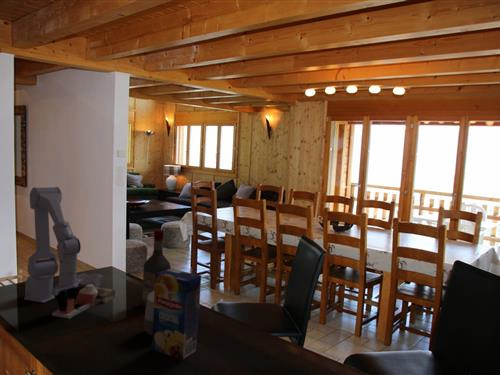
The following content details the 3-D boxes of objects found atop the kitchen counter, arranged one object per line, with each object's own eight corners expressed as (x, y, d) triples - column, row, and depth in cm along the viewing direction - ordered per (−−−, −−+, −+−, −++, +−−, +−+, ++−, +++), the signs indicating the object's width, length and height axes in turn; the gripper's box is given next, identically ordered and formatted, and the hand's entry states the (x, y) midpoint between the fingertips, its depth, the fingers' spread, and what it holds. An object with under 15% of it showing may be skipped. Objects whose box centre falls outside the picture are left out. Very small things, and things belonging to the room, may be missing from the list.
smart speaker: (138, 335, 142) (139, 294, 140) (154, 325, 150) (155, 286, 149) (162, 341, 138) (164, 299, 137) (177, 330, 147) (179, 291, 145)
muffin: (88, 305, 164) (88, 287, 163) (77, 301, 167) (77, 284, 166) (101, 300, 169) (101, 283, 169) (90, 297, 172) (90, 280, 171)
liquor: (156, 311, 162) (159, 234, 159) (138, 306, 167) (141, 230, 164) (171, 305, 170) (175, 230, 167) (154, 299, 174) (158, 227, 172)
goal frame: (77, 298, 170) (77, 291, 170) (88, 292, 177) (88, 285, 177) (105, 303, 167) (105, 295, 167) (114, 297, 174) (115, 290, 174)
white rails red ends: (51, 315, 152) (51, 300, 152) (75, 302, 166) (76, 289, 165) (70, 318, 151) (71, 304, 150) (94, 305, 164) (94, 291, 164)
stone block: (95, 293, 183) (105, 281, 193) (94, 283, 182) (104, 272, 191) (69, 291, 184) (80, 280, 194) (67, 281, 183) (79, 270, 192)
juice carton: (197, 350, 134) (201, 275, 131) (182, 360, 127) (186, 281, 125) (167, 340, 139) (170, 268, 137) (151, 348, 133) (155, 273, 130)
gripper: (64, 278, 145) (63, 317, 146) (90, 268, 159) (88, 303, 161) (46, 276, 147) (45, 314, 148) (73, 265, 161) (72, 300, 162)
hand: (66, 308), depth 154 cm, fingers open, 4 cm apart
